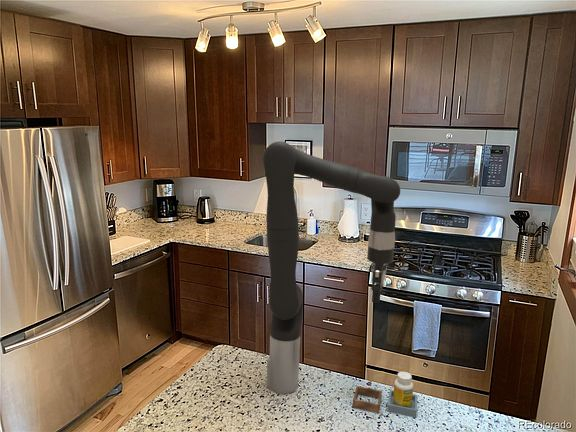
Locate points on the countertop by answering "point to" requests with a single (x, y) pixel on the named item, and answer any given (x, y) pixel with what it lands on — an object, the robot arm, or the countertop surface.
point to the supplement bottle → (403, 390)
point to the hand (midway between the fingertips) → (377, 297)
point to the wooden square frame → (363, 404)
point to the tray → (401, 409)
